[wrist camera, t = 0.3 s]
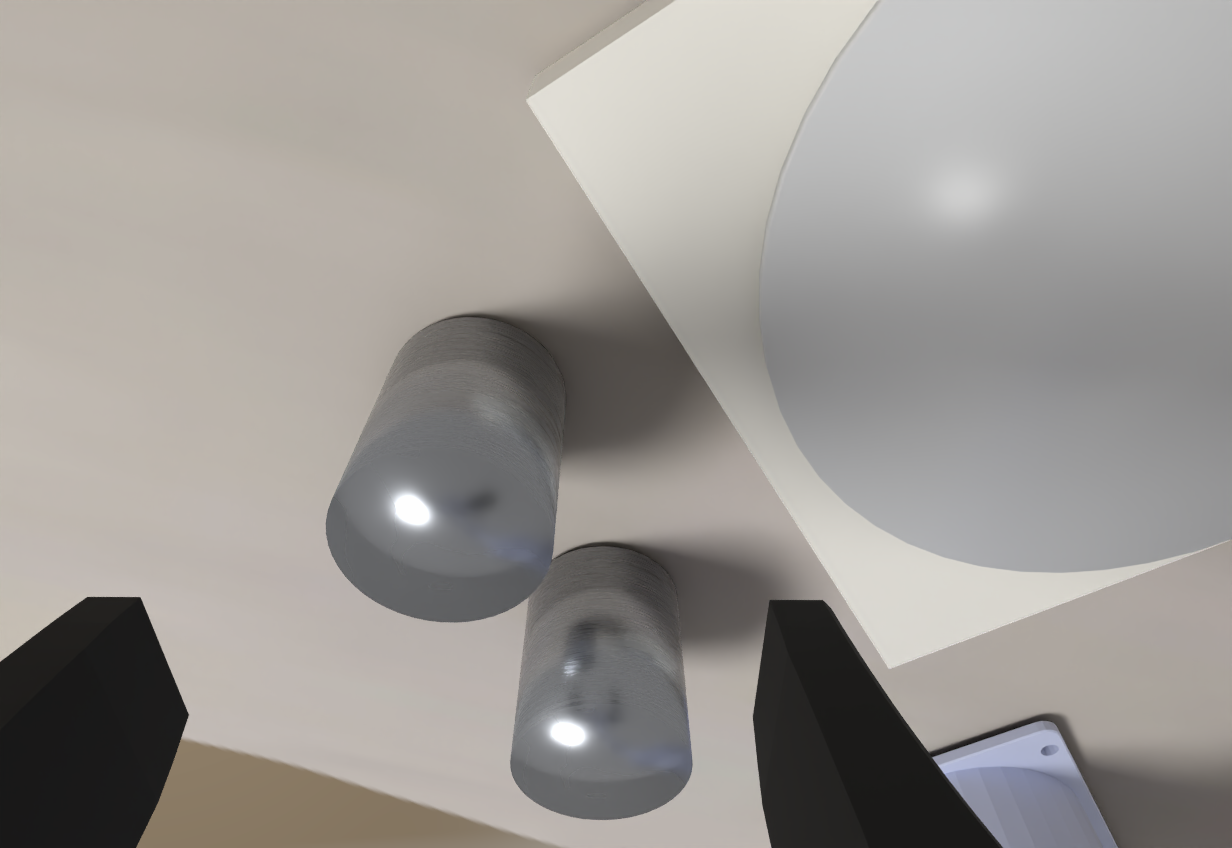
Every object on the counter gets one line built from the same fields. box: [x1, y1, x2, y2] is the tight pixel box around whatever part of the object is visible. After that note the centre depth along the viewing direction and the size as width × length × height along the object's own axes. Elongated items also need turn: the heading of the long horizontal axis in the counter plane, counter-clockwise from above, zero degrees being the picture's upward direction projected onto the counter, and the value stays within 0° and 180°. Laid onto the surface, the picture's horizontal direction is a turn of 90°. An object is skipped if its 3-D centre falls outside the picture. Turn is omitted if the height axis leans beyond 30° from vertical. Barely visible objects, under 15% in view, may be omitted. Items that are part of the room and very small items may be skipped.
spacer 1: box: [326, 317, 566, 622], centre depth 17 cm, size 4×4×5 cm
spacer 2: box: [510, 546, 692, 820], centre depth 21 cm, size 4×4×5 cm
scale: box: [526, 0, 1232, 669], centre depth 14 cm, size 20×16×4 cm
